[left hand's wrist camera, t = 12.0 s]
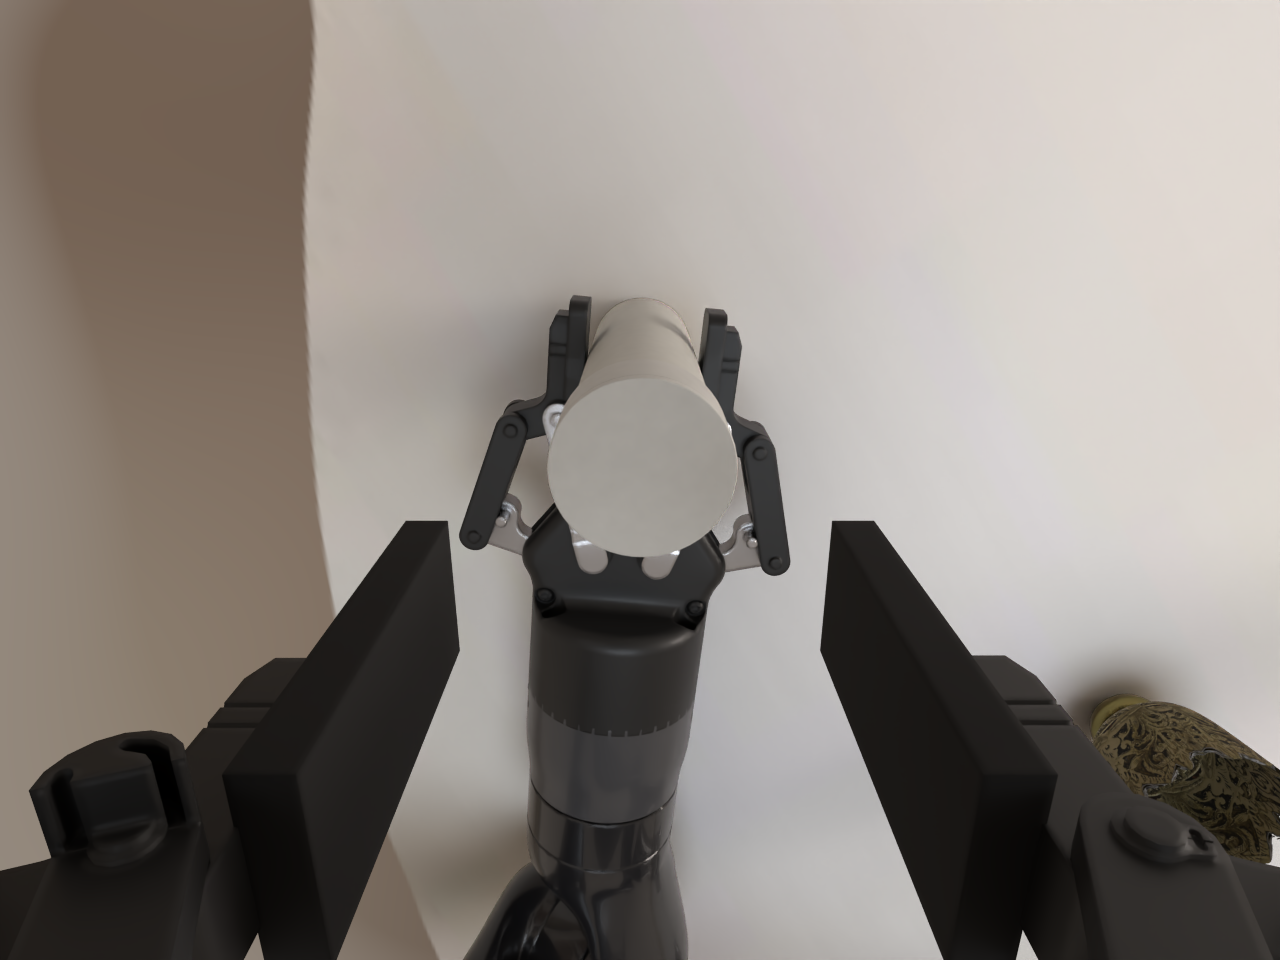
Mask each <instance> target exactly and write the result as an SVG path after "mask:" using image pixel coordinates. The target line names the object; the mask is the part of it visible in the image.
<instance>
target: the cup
mask: <svg viewBox="0 0 1280 960" xmlns="http://www.w3.org/2000/svg"><path fill="white" fill-rule="evenodd" d="M1090 731H1091V736H1092V738H1093V743H1092V744H1093V745H1094V746H1095V747H1096V749H1097V750H1098V751H1099V752H1100V754H1101V755H1102V756H1103V757H1104V758H1105V760H1106V761H1107V762H1108V763H1109V764H1110V766H1111V767H1112V768H1113V769H1114V770H1115V772H1116V773H1117V774H1118V775H1119V776H1120V778H1121V779H1122V780H1123V781H1124V782H1125V784H1126V785H1127V786H1128V787H1129V788H1130V790H1131V791H1132V792H1133V793H1134V794H1139V795H1142V796H1145V797H1148V798H1151V799H1154V800H1157V801H1160V802H1163V803H1166V804H1168V805H1170V806H1172V807H1174V808H1176V809H1177V810H1179V811H1181V812H1183V813H1185V814H1187V815H1188V816H1190V817H1192V818H1194V819H1195V820H1196V821H1197V822H1198V823H1200V824H1201V825H1202V826H1203V827H1204V828H1206V829H1207V830H1208V831H1209V832H1211V833H1212V834H1213V835H1214V836H1215V837H1216V838H1217V840H1218V841H1219V843H1220V844H1221V845H1222V847H1223V848H1224V850H1225V851H1226V853H1227V854H1228V855H1231V856H1234V857H1238V858H1241V859H1245V860H1250V861H1254V862H1258V863H1263V864H1266V863H1270V862H1271V860H1272V837H1275V836H1277V837H1280V817H1279V816H1280V770H1279V769H1278V768H1276V767H1275V766H1274V765H1273V764H1271V763H1270V762H1268V761H1267V760H1266V759H1264V758H1263V757H1262V756H1260V755H1259V754H1257V753H1256V752H1255V751H1253V750H1252V749H1251V748H1249V747H1248V746H1247V745H1245V744H1244V743H1242V742H1241V741H1240V740H1238V739H1237V738H1236V737H1234V736H1233V735H1231V734H1230V733H1229V732H1227V731H1226V730H1224V729H1223V728H1221V727H1220V726H1219V725H1217V724H1216V723H1214V722H1212V721H1211V720H1209V719H1208V718H1206V717H1204V716H1202V715H1201V714H1199V713H1197V712H1195V711H1193V710H1191V709H1188V708H1186V707H1183V706H1180V705H1176V704H1172V703H1166V702H1151V701H1149V700H1148V699H1145V698H1143V697H1140V696H1137V695H1133V694H1119V695H1115V696H1112V697H1109V698H1107V699H1106V700H1104V701H1103V702H1101V703H1100V704H1099V705H1098V706H1097V707H1096V708H1095V710H1094V711H1093V713H1092V715H1091V718H1090ZM1277 814H1278V815H1277ZM1272 834H1274V835H1275V836H1273V835H1272ZM1277 839H1280V838H1277Z"/></svg>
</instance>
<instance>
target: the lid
mask: <svg viewBox="0 0 1280 960" xmlns="http://www.w3.org/2000/svg"><path fill="white" fill-rule="evenodd" d="M737 473H738V461H737V453H736V448H735V444H734V441H733V438H732V435H731V432H730V429H729V427H728V424H727V421H726V419H725V416H724V413H723V411H722V409H721V407H720V405H719V403H718V401H717V399H716V398H715V396H714V395H713V394H712V392H711V391H710V390H709V389H708V388H707V386H706V385H705V384H704V383H703V382H702V381H700V380H699V379H698V378H697V377H696V376H694V375H693V374H691V373H689V372H688V371H686V370H685V369H682V368H680V367H678V366H676V365H673V364H670V363H667V362H664V361H658V360H652V359H634V360H626V361H622V362H617V363H614V364H612V365H609V366H606V367H604V368H602V369H600V370H598V371H597V372H595V373H594V374H592V375H591V376H589V377H588V378H586V379H585V380H584V381H583V382H582V383H581V384H580V385H579V386H578V387H577V388H576V389H575V391H574V392H573V393H572V394H571V396H570V397H569V399H568V400H567V402H566V404H565V406H564V408H563V410H562V413H561V415H560V418H559V420H558V423H557V426H556V429H555V431H554V434H553V437H552V440H551V443H550V447H549V451H548V458H547V476H548V483H549V487H550V491H551V494H552V497H553V500H554V502H555V504H556V506H557V508H558V510H559V511H560V513H561V515H562V516H563V518H564V519H565V520H566V521H567V523H568V524H569V525H570V526H571V527H572V528H573V529H574V530H575V531H576V532H577V533H578V534H579V535H580V536H582V537H583V538H584V539H586V540H587V541H589V542H590V543H592V544H594V545H596V546H597V547H599V548H602V549H604V550H607V551H609V552H612V553H616V554H620V555H625V556H631V557H653V556H660V555H665V554H669V553H672V552H675V551H678V550H681V549H683V548H685V547H687V546H689V545H691V544H693V543H694V542H696V541H697V540H699V539H700V538H702V537H703V536H704V535H705V534H707V533H708V532H709V531H710V530H711V529H712V528H713V527H714V526H715V525H716V524H717V523H718V521H719V520H720V519H721V517H722V516H723V514H724V513H725V511H726V509H727V507H728V506H729V504H730V502H731V499H732V496H733V494H734V491H735V486H736V482H737Z"/></svg>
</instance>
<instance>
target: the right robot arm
mask: <svg viewBox="0 0 1280 960" xmlns="http://www.w3.org/2000/svg"><path fill="white" fill-rule="evenodd" d="M590 316H591V297H587V296H576V295H573V296H572V298H571V300H570V305H569V310H559V311H558V313H557V314H556V316H555V318H554V320H553V322H552V324H551V326H550V332H549V352H548V353H549V355H548V372H547V390H546V393H545V394H544V395H542V396H540V397H538V398H535V399H531V400H527V401H524V400H514V401H512V402H511V403H509V404H508V406H507V407H506V409H505V411H504V414H503V415H502V416H501V417H500V419H499V420H498V422H497V423H496V426H495V429H494V432H493V435H492V438H491V441H490V444H489V447H488V450H487V452H486V455H485V458H484V461H483V464H482V467H481V470H480V473H479V476H478V479H477V482H476V485H475V488H474V491H473V494H472V497H471V500H470V503H469V506H468V509H467V512H466V515H465V518H464V521H463V524H462V527H461V530H460V533H459V538H460V541H461V543H462V544H463V545H464V546H465V547H466V548H468V549H471V550H479V549H482V548H484V547H485V546H486V545H487V544H491V545H494V546H496V547H499V548H502V549H505V550H508V551H511V552H514V553H517V554H520V555H522V558H523V563H524V565H525V567H526V569H527V571H528V572H529V574H530V577H531V579H532V583H533V603H532V623H531V643H530V663H529V683H528V705H527V742H528V750H529V758H530V773H529V792H528V812H527V813H528V814H527V844H528V850H529V854H530V858H531V862H530V863H528V864H527V865H525V866H524V867H523V868H522V869H520V870H519V871H518V872H517V873H516V874H515V876H514V877H513V878H512V879H511V881H510V882H509V884H508V885H507V887H506V888H505V890H504V891H503V893H502V894H501V896H500V898H499V900H498V901H497V903H496V905H495V907H494V908H493V910H492V912H491V914H490V916H489V917H488V919H487V921H486V923H485V925H484V926H483V928H482V930H481V931H480V933H479V935H478V937H477V938H476V940H475V942H474V943H473V945H472V946H471V948H470V949H469V951H468V953H467V954H466V956H465V957H464V959H463V960H688V936H687V928H686V920H685V914H684V909H683V904H682V899H681V894H680V889H679V884H678V879H677V873H676V867H675V861H674V856H673V852H672V848H671V844H670V833H671V827H672V820H673V813H674V806H675V798H676V791H677V784H678V777H679V773H680V770H681V766H682V763H683V760H684V757H685V754H686V750H687V746H688V741H689V735H690V728H691V721H692V714H693V707H694V700H695V693H696V685H697V678H698V672H699V664H700V657H701V650H702V643H703V636H704V629H705V621H706V614H707V607H708V602H709V599H710V596H711V594H712V593H713V591H714V590H715V588H716V587H717V586H718V585H719V583H720V582H721V581H722V579H723V577H724V574H725V572H730V571H736V570H741V569H747V568H753V567H759V566H761V567H762V569H763V571H764V572H765V573H767V574H769V575H772V576H777V575H781V574H783V573H784V572H786V571H787V570H788V568H789V566H790V555H789V547H788V540H787V533H786V525H785V518H784V511H783V503H782V496H781V489H780V481H779V474H778V467H777V459H776V452H775V448H774V445H773V444H772V442H771V440H770V438H769V436H768V434H767V432H766V430H765V428H764V427H763V426H762V425H761V424H760V423H758V422H755V421H748V420H746V419H744V418H742V417H740V416H738V415H737V414H735V413H734V411H733V407H734V400H735V393H736V385H737V378H738V371H739V364H740V357H741V350H742V345H741V341H740V337H739V333H738V331H737V330H736V328H735V327H734V326H727V314H726V312H725V311H724V310H721V309H710V308H706V309H705V313H704V319H703V328H702V336H701V344H700V352H699V361H698V364H699V367H700V370H701V373H702V376H703V379H704V382H705V385H706V386H707V388H708V389H709V390H710V391H711V392H712V394H713V395H714V396H715V398H716V399H717V401H718V403H719V405H720V407H721V409H722V411H723V413H724V416H725V419H726V421H727V424H728V427H729V429H730V432H731V435H732V438H733V441H734V444H735V448H736V453H737V457H740V459H741V466H742V473H743V479H744V486H745V492H746V499H747V505H748V512H749V514H745V515H742V516H740V517H738V518H737V519H736V521H735V522H734V525H733V534H732V536H731V538H730V539H729V540H728V541H726V542H725V543H722V544H720V543H719V542H718V540H717V538H716V537H715V535H714V533H713V532H712V530H710V531H709V532H708V533H707V534H705V535H704V536H703V537H702V538H700V539H699V540H697V541H696V542H694V543H693V544H691V545H689V546H687V547H685V548H683V549H681V550H678V551H675V552H672V553H669V554H665V555H660V556H653V557H631V556H625V555H620V554H616V553H612V552H609V551H607V550H604V549H602V548H599V547H597V546H596V545H594V544H592V543H590V542H589V541H587V540H586V539H584V538H583V537H582V536H580V535H579V534H578V533H577V532H576V531H575V530H574V529H573V528H572V527H571V526H570V525H569V524H568V523H567V521H566V520H565V519H564V518H563V516H562V515H561V513H560V511H559V510H558V508H557V506H556V504H555V502H554V504H553V505H552V506H551V507H550V508H549V509H548V510H547V511H546V512H545V513H544V515H543V516H542V517H541V518H540V519H539V520H538V521H537V522H536V523H535V525H534V526H533V527H532V528H530V527H528V526H527V525H526V524H525V523H524V522H523V521H522V518H521V509H522V506H521V502H520V501H519V499H518V498H517V497H516V496H514V495H512V494H509V493H508V491H509V488H510V485H511V482H512V479H513V477H514V474H515V471H516V468H517V465H518V462H519V460H520V457H521V454H522V451H523V448H524V445H525V443H526V440H528V439H532V438H536V437H539V436H543V435H546V436H547V439H548V443H549V447H550V443H551V440H552V437H553V434H554V431H555V429H556V426H557V423H558V420H559V418H560V415H561V413H562V410H563V408H564V406H565V404H566V402H567V400H568V399H569V397H570V396H571V394H572V393H573V392H574V391H575V389H576V388H577V387H578V386H579V383H580V380H581V377H582V374H583V371H584V368H585V365H586V362H587V358H588V345H589V330H590Z"/></svg>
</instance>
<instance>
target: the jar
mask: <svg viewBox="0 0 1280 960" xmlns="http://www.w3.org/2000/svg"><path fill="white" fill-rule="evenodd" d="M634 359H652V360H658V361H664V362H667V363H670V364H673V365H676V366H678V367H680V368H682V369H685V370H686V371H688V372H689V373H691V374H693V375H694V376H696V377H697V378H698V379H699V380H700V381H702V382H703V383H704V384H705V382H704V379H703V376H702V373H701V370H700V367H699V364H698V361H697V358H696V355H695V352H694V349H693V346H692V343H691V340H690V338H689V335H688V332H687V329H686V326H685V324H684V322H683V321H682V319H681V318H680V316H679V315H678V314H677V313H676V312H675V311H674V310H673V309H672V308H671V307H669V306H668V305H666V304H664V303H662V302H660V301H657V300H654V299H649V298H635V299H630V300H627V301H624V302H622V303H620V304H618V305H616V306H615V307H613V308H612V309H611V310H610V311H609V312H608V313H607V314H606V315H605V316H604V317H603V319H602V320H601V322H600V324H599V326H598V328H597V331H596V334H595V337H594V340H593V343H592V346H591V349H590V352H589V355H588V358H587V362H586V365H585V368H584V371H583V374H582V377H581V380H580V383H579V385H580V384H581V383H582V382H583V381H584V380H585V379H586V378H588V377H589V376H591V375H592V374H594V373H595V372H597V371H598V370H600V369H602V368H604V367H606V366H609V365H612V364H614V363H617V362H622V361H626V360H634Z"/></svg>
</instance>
